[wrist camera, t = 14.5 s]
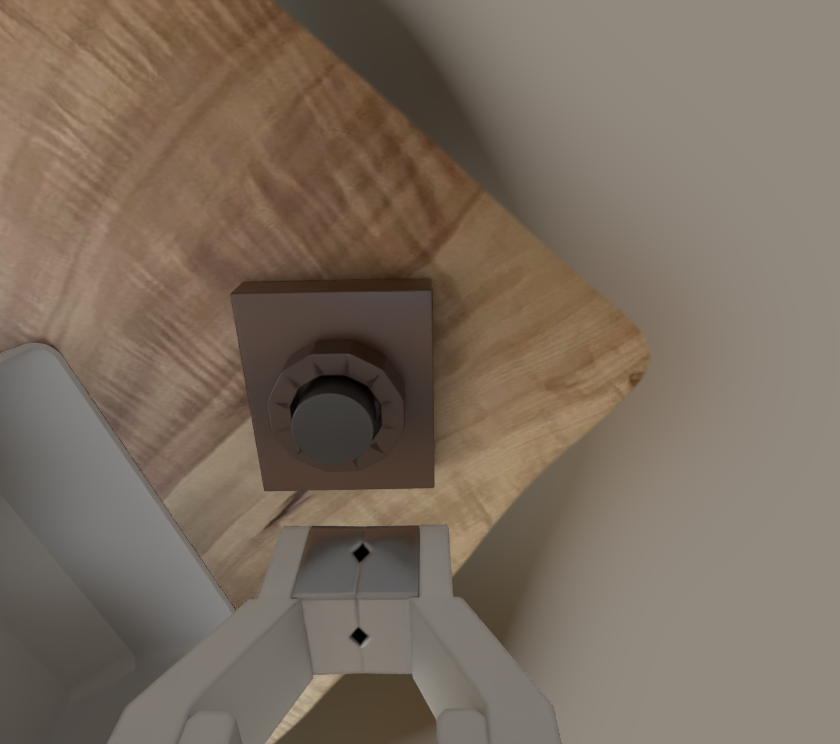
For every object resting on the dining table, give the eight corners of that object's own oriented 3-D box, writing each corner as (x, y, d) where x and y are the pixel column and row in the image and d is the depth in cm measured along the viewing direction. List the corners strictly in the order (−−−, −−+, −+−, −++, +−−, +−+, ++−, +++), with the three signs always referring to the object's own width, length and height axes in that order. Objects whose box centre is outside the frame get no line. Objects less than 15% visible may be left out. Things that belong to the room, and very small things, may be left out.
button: (294, 378, 27) (286, 394, 25) (374, 376, 27) (371, 392, 25) (302, 446, 28) (295, 465, 27) (378, 444, 28) (375, 463, 27)
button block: (242, 281, 28) (216, 304, 25) (431, 277, 28) (433, 300, 25) (273, 469, 33) (255, 511, 30) (433, 466, 33) (435, 508, 30)
